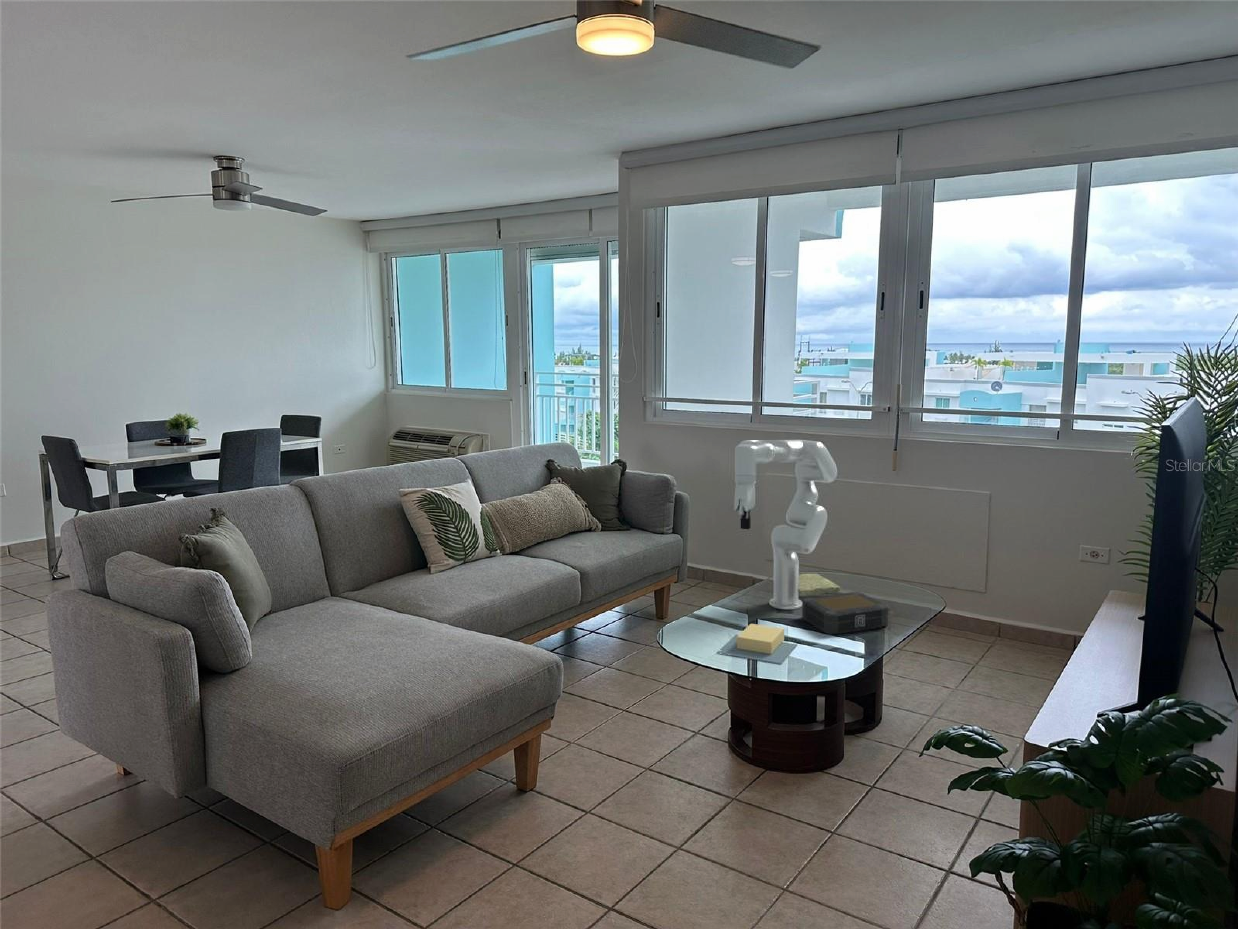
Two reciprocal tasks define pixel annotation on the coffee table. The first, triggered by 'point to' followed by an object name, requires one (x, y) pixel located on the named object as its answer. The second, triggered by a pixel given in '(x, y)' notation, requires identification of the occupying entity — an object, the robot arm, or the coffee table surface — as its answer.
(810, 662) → the coffee table surface
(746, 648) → the pale yellow block
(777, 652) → the mat
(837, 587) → the decorative tile
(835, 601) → the cash box
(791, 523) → the robot arm
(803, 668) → the coffee table surface
